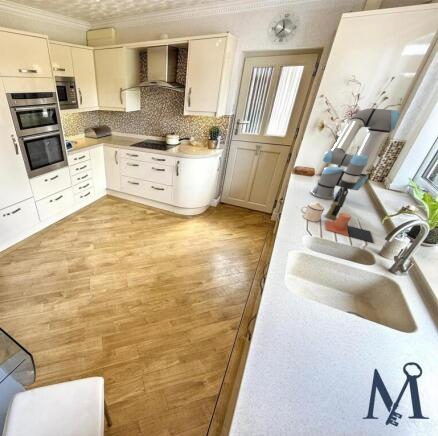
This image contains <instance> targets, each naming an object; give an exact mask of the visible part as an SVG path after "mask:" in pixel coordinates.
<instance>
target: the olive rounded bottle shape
mask: <svg viewBox="0 0 438 436" xmlns="http://www.w3.org/2000/svg"><path fill="white" fill-rule="evenodd" d="M335 205H337V202H333V201H332V203H331V205H330V208H329V209H328V211H327V212H326V214H325V215H324V218H326V219H327V220H330V221H336V219H337V216H334V215H331V214H332V212H333V210H334V208H335ZM339 205H340V204H339ZM331 206H332V207H331Z"/></svg>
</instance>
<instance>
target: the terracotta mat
mask: <svg viewBox="0 0 438 436" xmlns="http://www.w3.org/2000/svg"><path fill="white" fill-rule="evenodd" d="M334 223H335V221H333V220H330V219H325V230H326V231H329V232H332V233H335V234H339V235H343V236H346V237H350V236H349V232H348V227H346V228H345V230H338V229H336V228H334V227H333V225H334Z"/></svg>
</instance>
